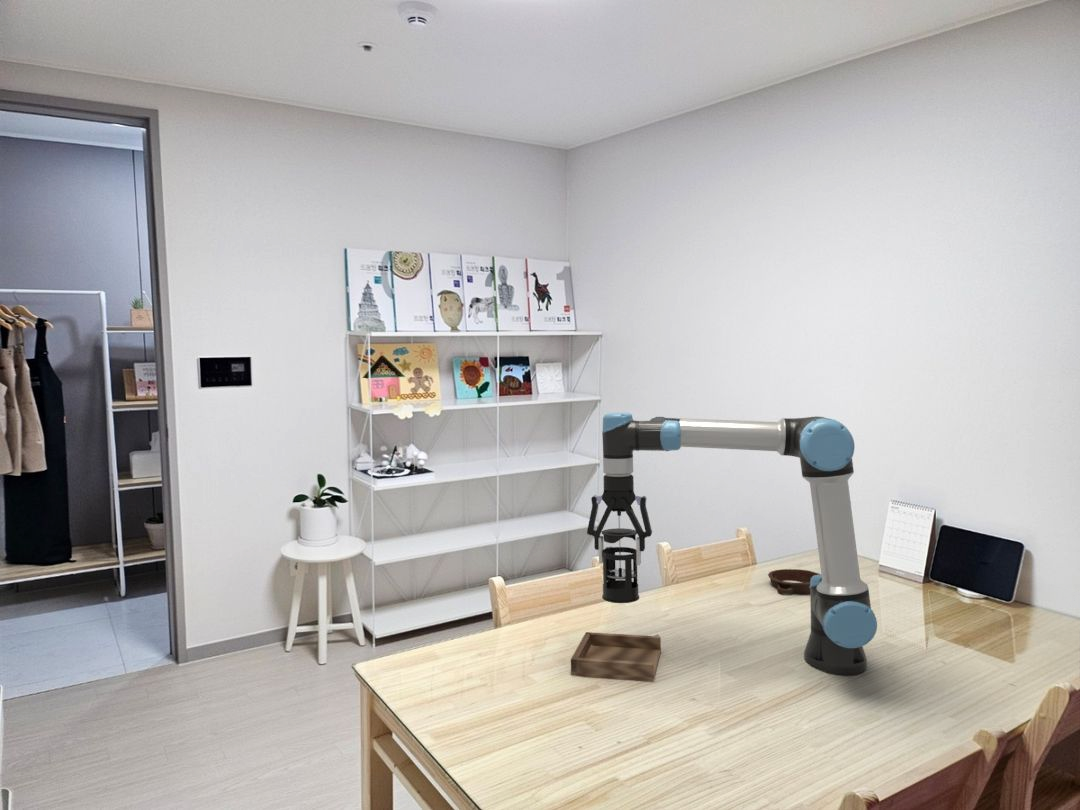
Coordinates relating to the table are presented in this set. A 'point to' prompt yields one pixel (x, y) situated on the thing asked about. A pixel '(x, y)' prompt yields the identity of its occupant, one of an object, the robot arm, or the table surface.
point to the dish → (791, 575)
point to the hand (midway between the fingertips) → (620, 563)
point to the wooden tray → (617, 656)
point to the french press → (619, 588)
